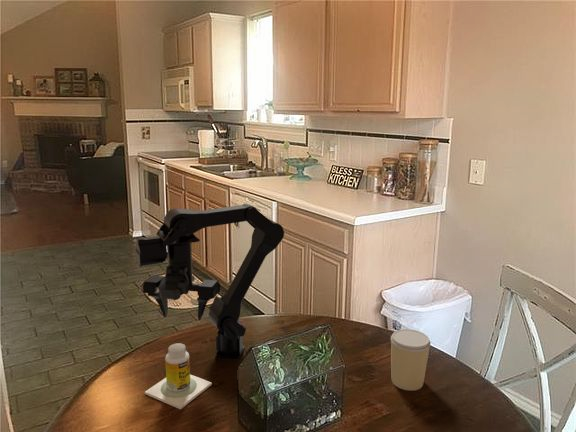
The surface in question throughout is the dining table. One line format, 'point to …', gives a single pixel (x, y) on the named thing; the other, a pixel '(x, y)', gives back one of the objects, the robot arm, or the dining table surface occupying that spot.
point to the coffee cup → (409, 358)
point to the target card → (179, 397)
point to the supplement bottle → (177, 368)
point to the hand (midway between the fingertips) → (182, 317)
